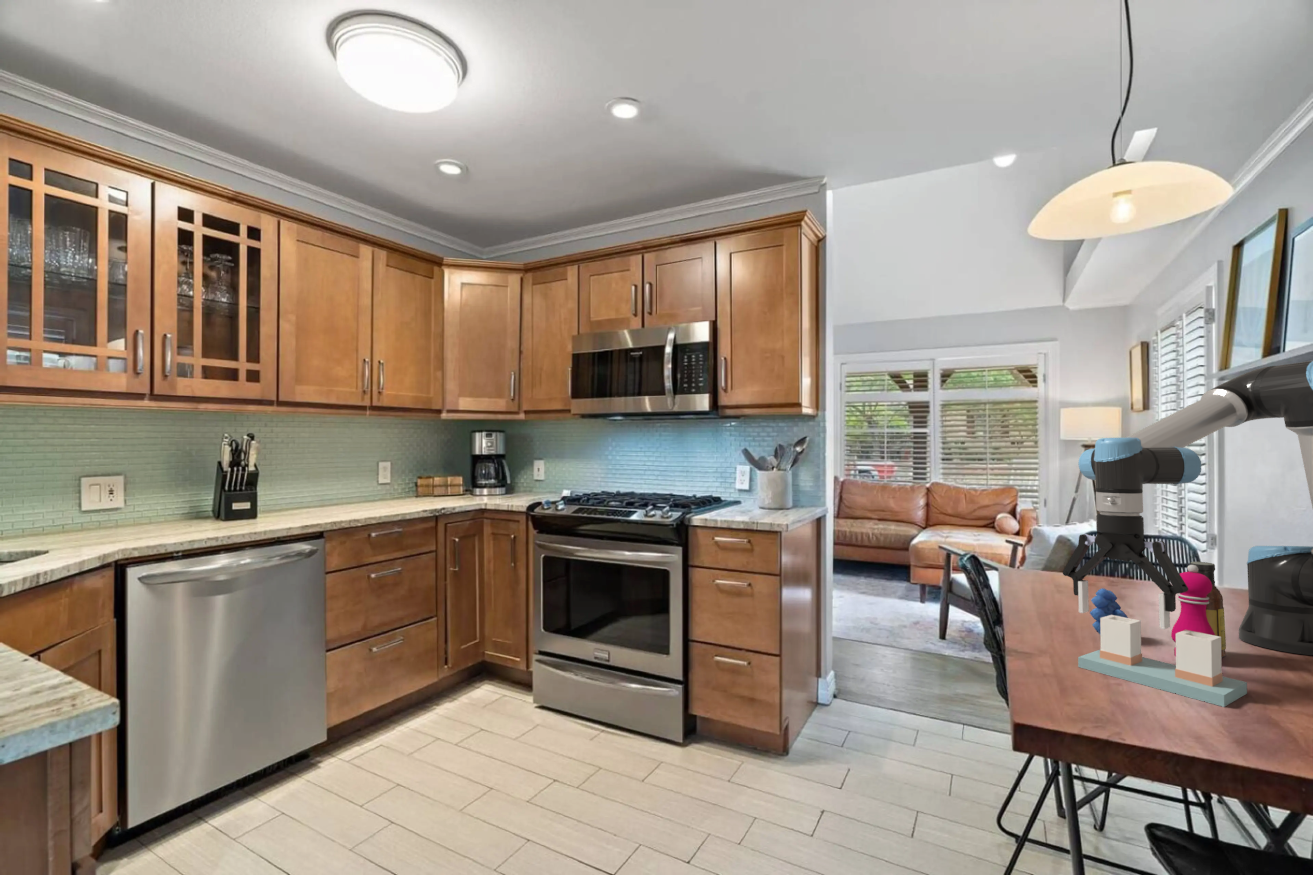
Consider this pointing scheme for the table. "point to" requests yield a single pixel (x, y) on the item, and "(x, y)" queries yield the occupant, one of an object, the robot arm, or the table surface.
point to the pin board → (1165, 679)
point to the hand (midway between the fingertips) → (1122, 619)
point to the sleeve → (1120, 639)
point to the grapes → (1105, 607)
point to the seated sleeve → (1198, 657)
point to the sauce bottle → (1214, 604)
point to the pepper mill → (1193, 604)
